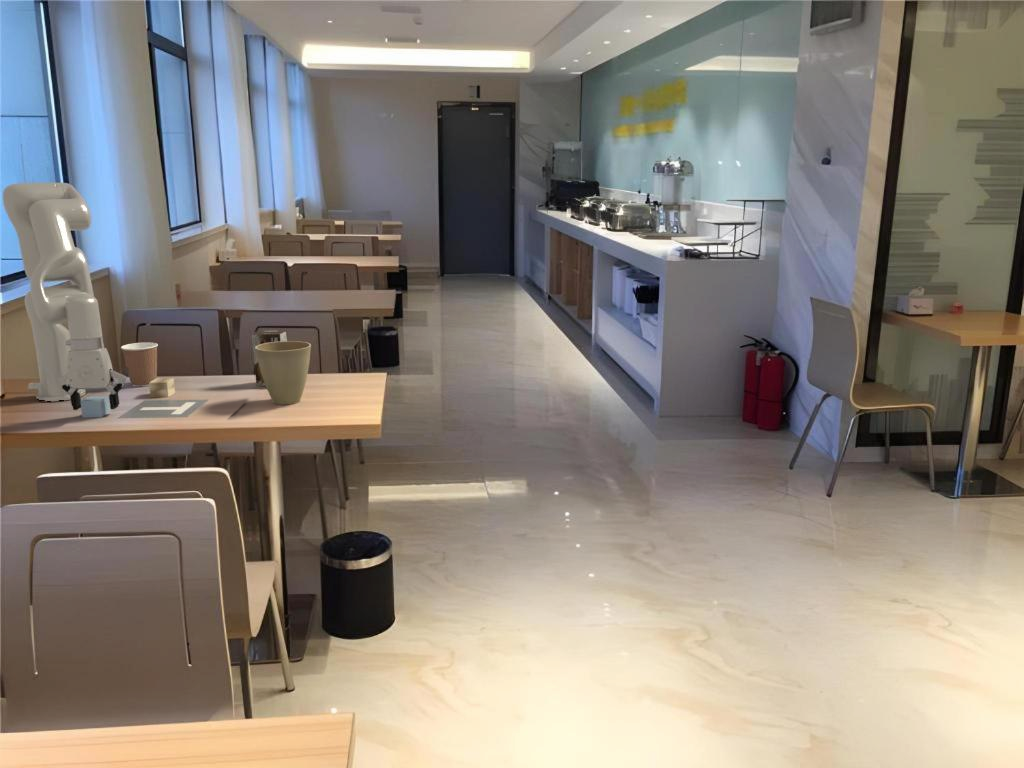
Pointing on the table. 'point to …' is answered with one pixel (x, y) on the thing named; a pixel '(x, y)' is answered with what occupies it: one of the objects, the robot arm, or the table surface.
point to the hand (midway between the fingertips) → (96, 408)
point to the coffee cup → (141, 362)
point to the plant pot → (284, 369)
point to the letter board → (164, 409)
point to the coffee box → (262, 338)
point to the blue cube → (95, 406)
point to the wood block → (162, 387)
